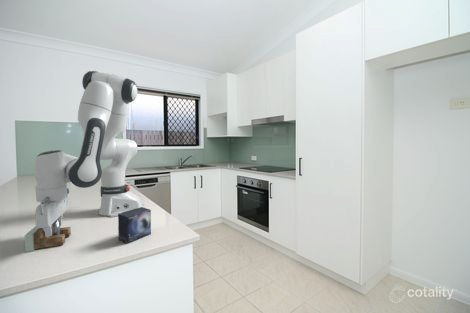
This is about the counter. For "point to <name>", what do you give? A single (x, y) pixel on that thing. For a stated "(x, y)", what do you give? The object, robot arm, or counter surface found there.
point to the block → (50, 238)
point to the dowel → (56, 227)
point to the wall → (30, 240)
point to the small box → (134, 224)
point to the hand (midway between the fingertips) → (54, 230)
